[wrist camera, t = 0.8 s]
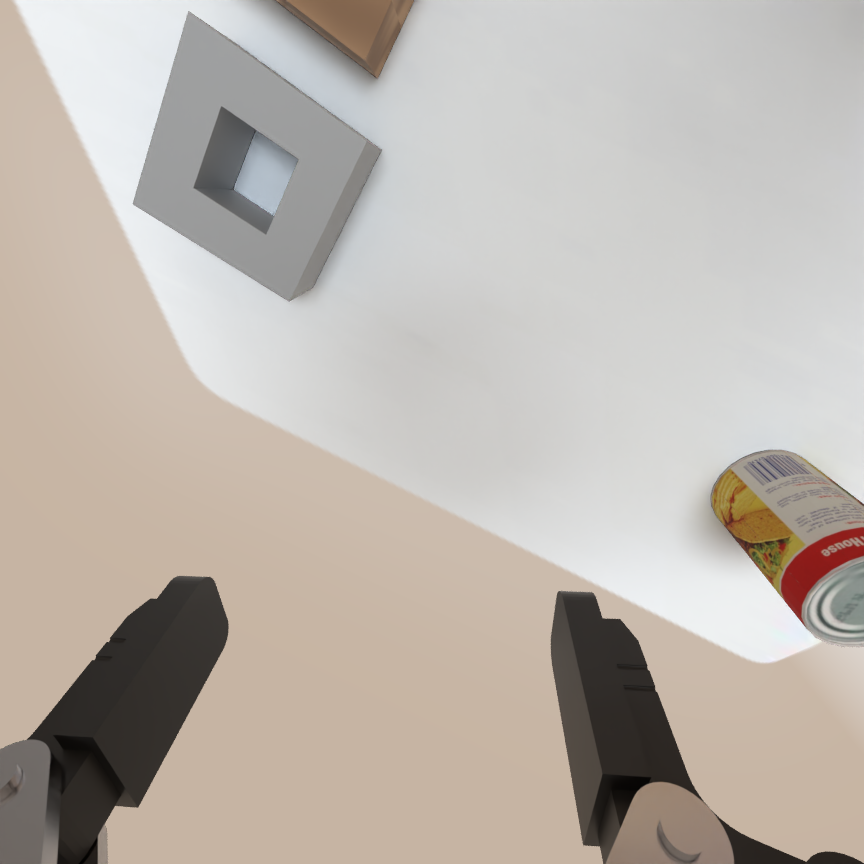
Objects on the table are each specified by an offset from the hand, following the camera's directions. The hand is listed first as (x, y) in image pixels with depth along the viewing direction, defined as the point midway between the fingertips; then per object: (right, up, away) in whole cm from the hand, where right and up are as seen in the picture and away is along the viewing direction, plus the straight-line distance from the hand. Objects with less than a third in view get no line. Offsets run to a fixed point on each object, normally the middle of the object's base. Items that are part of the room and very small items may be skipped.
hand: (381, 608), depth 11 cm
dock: (-9, +21, +19) cm, 30 cm away
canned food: (+29, -1, +28) cm, 40 cm away
